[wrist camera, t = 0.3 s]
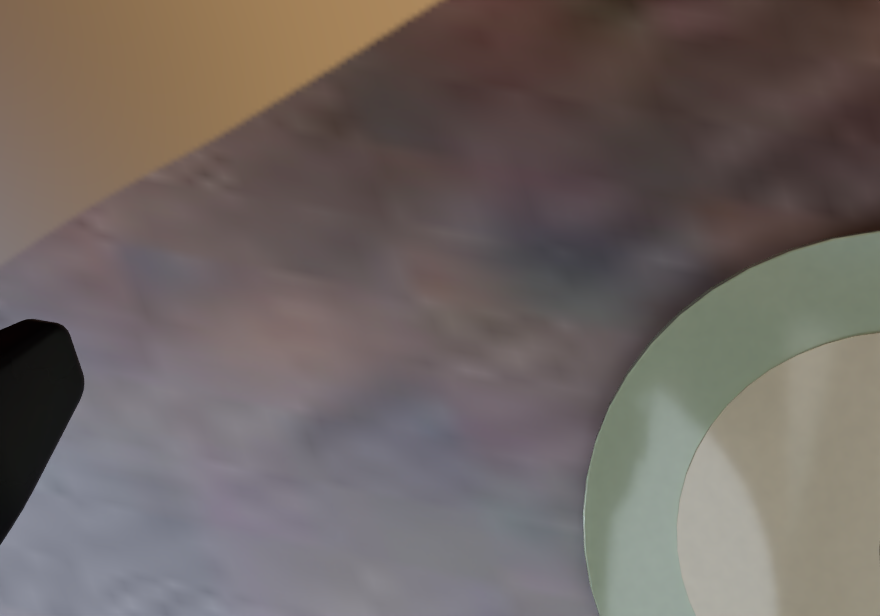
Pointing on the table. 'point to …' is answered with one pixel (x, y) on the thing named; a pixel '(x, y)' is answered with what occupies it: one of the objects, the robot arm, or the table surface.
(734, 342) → the plate
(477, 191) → the table surface
